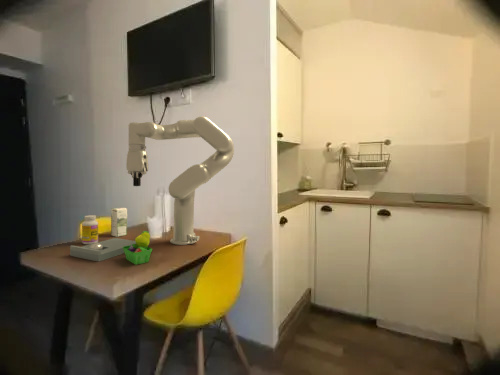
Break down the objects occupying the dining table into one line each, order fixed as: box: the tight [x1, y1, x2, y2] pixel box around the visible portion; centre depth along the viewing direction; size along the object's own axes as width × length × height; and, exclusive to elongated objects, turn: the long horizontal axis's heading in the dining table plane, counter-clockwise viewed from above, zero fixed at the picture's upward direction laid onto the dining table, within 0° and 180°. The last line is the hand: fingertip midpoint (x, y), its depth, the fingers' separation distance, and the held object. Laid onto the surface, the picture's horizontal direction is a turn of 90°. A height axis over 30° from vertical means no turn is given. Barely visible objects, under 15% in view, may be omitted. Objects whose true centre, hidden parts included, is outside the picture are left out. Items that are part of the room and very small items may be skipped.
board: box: [69, 237, 136, 262], centre depth 122 cm, size 16×22×4 cm
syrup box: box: [110, 207, 128, 238], centre depth 149 cm, size 6×6×14 cm
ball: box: [90, 243, 103, 250], centre depth 117 cm, size 5×5×5 cm
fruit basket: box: [123, 230, 153, 266], centre depth 111 cm, size 11×9×11 cm
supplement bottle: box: [81, 214, 99, 245], centre depth 134 cm, size 7×7×13 cm
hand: (136, 186), depth 139 cm, fingers closed
